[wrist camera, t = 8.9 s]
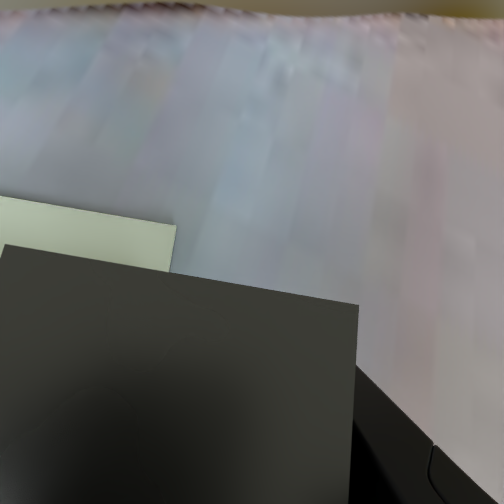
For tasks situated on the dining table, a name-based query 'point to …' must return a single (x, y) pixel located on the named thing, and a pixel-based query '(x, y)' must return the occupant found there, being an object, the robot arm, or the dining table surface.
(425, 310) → the dining table surface
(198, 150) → the dining table surface
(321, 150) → the dining table surface
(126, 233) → the collar holder
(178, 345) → the grey tall block
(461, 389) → the dining table surface
